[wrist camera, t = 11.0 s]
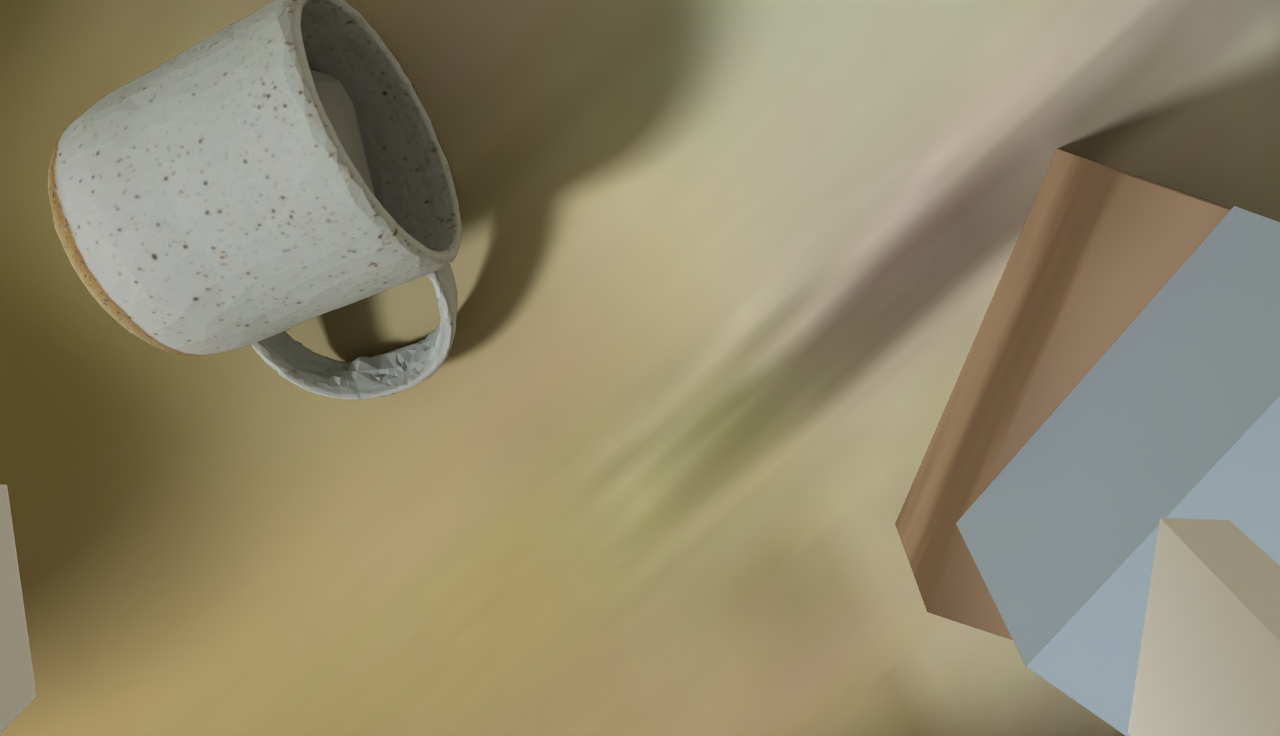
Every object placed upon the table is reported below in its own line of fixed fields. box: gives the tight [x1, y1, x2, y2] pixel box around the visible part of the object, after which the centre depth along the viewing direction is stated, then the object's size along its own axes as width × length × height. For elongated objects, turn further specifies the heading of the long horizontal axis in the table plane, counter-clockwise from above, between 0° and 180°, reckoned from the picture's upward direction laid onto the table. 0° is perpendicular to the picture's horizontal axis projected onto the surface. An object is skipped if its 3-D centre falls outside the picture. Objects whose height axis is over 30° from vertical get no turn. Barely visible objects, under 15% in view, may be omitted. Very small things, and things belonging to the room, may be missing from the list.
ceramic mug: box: [48, 0, 462, 400], centre depth 31 cm, size 11×8×8 cm
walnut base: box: [895, 149, 1231, 640], centre depth 33 cm, size 12×12×6 cm
